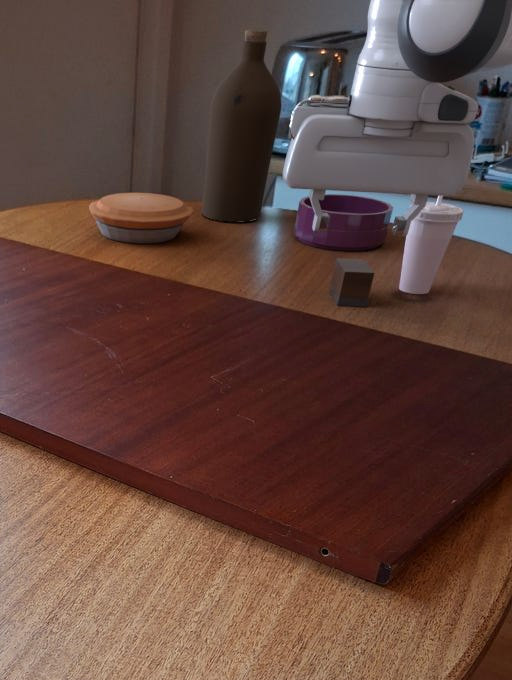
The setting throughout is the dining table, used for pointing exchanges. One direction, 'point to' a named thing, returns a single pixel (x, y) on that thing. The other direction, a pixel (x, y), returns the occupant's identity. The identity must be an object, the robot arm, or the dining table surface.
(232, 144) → the olive oil
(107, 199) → the pie
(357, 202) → the bowl
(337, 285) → the eraser
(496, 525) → the dining table surface
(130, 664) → the dining table surface
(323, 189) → the robot arm
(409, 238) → the smoothie
